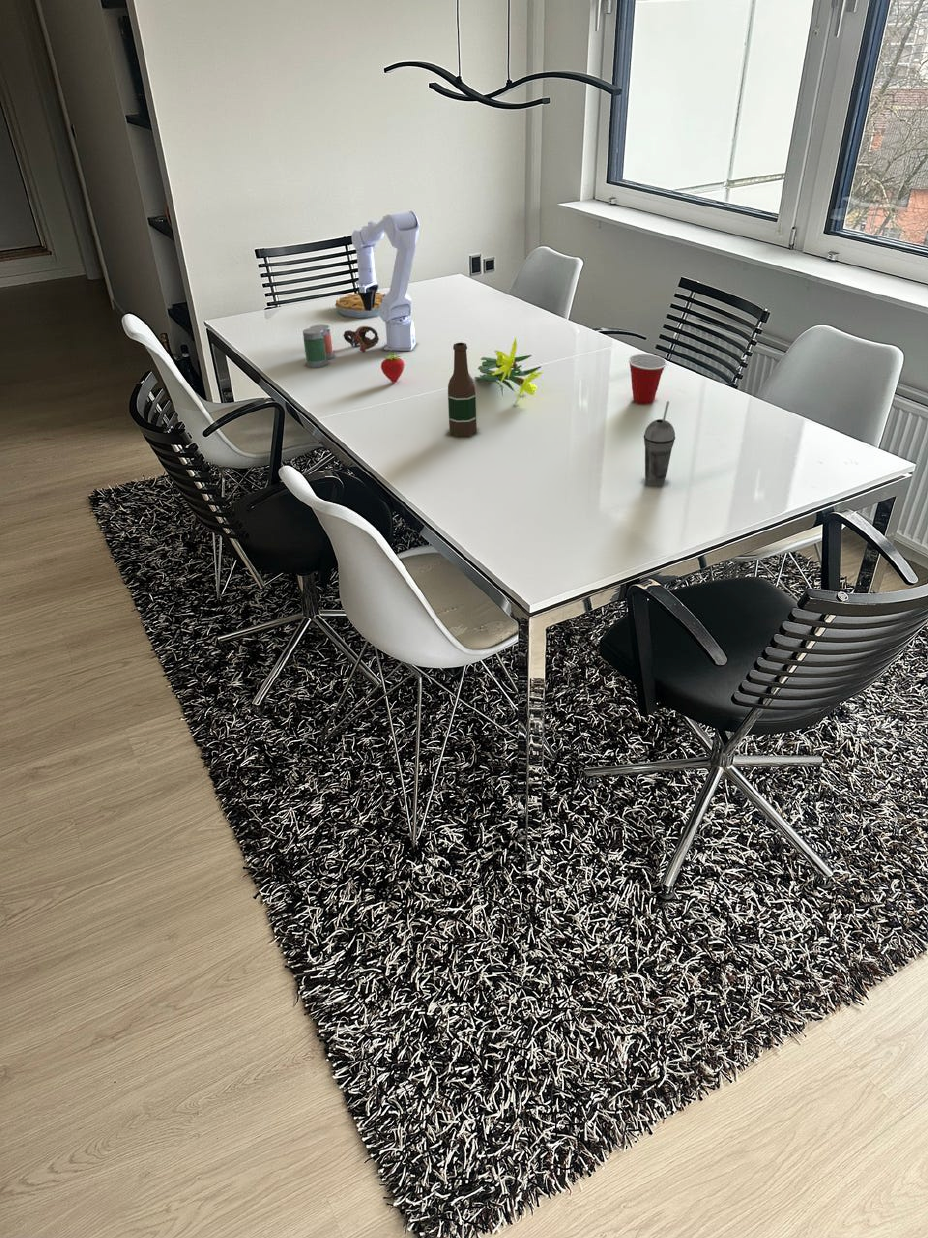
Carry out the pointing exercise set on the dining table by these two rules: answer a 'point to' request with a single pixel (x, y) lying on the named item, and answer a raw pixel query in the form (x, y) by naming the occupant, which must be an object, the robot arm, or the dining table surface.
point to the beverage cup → (658, 450)
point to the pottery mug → (361, 337)
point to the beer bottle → (461, 396)
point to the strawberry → (392, 367)
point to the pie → (357, 306)
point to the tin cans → (317, 345)
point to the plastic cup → (646, 376)
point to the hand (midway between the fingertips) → (369, 308)
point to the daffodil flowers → (508, 371)
